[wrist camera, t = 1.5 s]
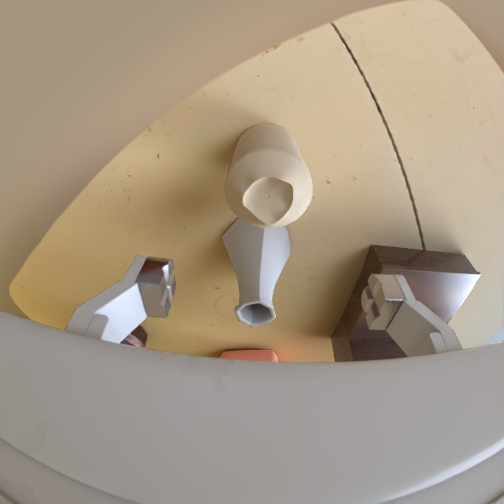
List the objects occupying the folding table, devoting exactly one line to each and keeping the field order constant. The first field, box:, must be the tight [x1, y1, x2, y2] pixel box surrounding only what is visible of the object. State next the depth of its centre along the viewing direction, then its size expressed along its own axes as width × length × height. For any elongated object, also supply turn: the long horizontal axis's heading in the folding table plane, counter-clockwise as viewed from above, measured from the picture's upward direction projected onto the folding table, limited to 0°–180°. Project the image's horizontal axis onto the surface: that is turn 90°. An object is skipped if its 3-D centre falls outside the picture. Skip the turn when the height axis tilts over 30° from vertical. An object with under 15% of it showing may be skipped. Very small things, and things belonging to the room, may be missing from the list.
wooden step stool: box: [331, 245, 481, 362], centre depth 30 cm, size 18×16×12 cm
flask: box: [222, 218, 292, 327], centre depth 26 cm, size 7×7×10 cm
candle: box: [225, 124, 313, 228], centre depth 20 cm, size 6×6×10 cm
